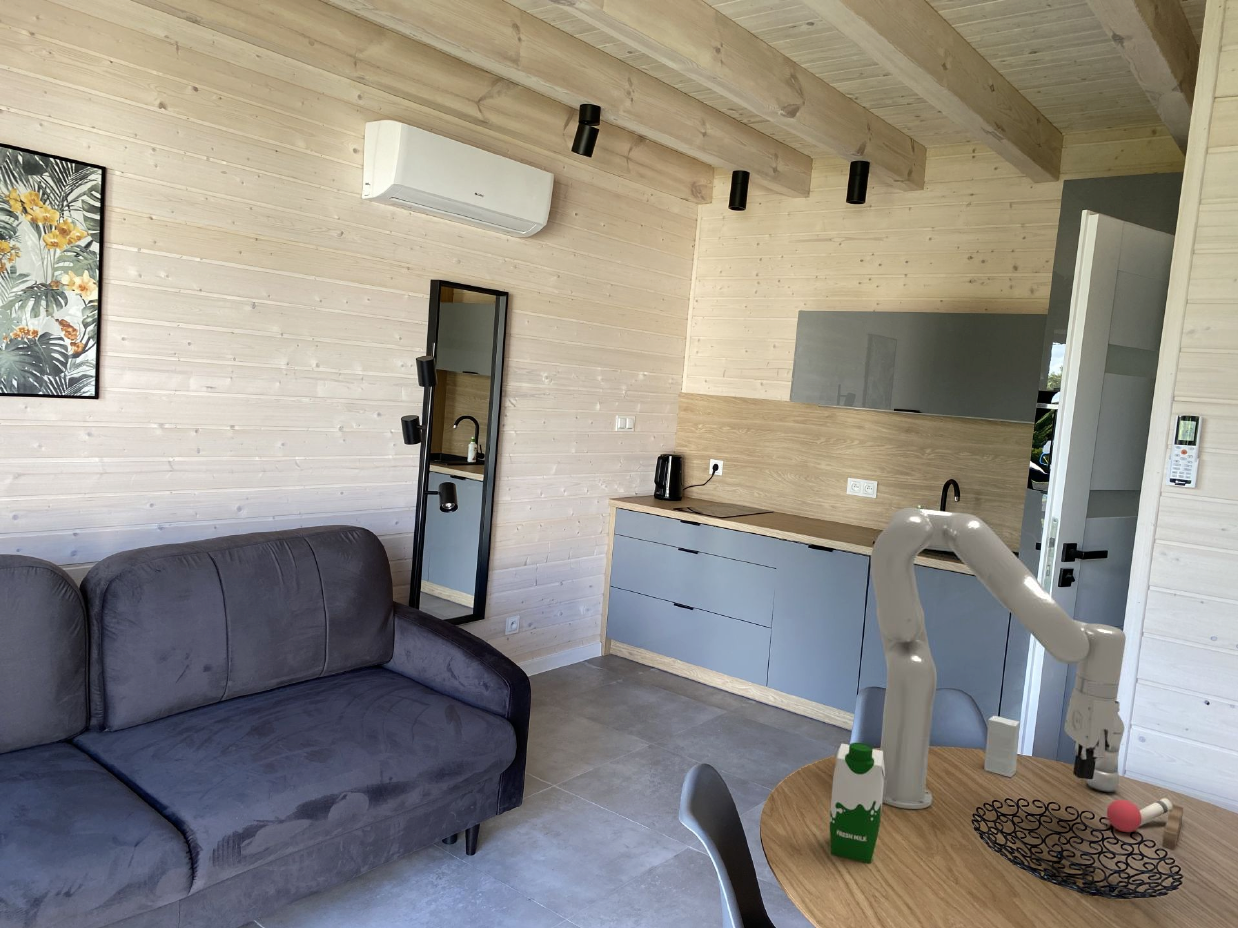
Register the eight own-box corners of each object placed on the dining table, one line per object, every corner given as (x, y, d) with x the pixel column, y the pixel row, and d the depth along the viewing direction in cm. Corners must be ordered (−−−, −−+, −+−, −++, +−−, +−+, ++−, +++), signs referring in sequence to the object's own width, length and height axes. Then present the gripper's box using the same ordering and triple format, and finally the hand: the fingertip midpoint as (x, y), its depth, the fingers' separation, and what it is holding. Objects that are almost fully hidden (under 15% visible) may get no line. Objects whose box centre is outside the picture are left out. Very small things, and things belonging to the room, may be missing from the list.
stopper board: (1174, 849, 170) (1176, 834, 170) (1162, 845, 171) (1164, 830, 171) (1181, 821, 183) (1183, 807, 183) (1170, 818, 184) (1171, 804, 184)
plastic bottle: (1109, 784, 200) (1118, 697, 199) (1123, 797, 193) (1132, 707, 192) (1079, 781, 201) (1088, 694, 199) (1092, 793, 194) (1101, 704, 193)
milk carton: (825, 855, 158) (834, 746, 157) (830, 833, 167) (839, 730, 166) (876, 867, 156) (886, 755, 154) (878, 844, 164) (888, 738, 163)
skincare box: (1016, 772, 203) (1021, 721, 202) (1010, 778, 200) (1016, 726, 199) (988, 764, 207) (993, 714, 206) (983, 769, 204) (987, 718, 203)
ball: (1151, 812, 173) (1143, 840, 174) (1135, 797, 179) (1127, 824, 180) (1120, 805, 174) (1112, 834, 174) (1105, 791, 179) (1098, 818, 180)
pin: (1128, 812, 180) (1160, 796, 183) (1131, 823, 180) (1163, 807, 183) (1138, 817, 178) (1171, 800, 180) (1141, 828, 178) (1174, 811, 180)
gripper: (1059, 673, 183) (1046, 759, 184) (1096, 697, 168) (1082, 791, 170) (1095, 677, 183) (1083, 763, 184) (1136, 702, 168) (1122, 795, 169)
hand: (1082, 776), depth 177 cm, fingers closed
